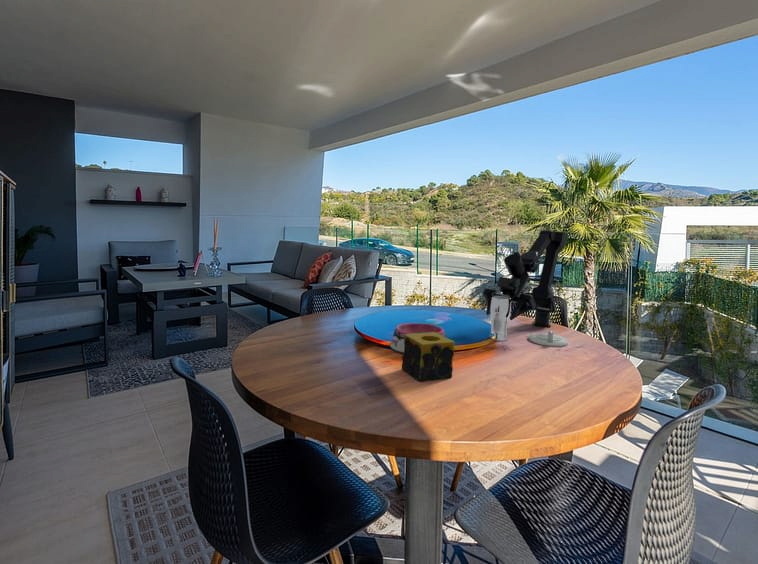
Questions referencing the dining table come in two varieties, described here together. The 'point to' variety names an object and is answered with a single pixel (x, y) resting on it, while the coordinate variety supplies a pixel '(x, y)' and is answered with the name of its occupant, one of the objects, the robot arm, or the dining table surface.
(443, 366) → the candle
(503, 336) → the beer glass
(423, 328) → the dog bowl
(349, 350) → the dining table surface
